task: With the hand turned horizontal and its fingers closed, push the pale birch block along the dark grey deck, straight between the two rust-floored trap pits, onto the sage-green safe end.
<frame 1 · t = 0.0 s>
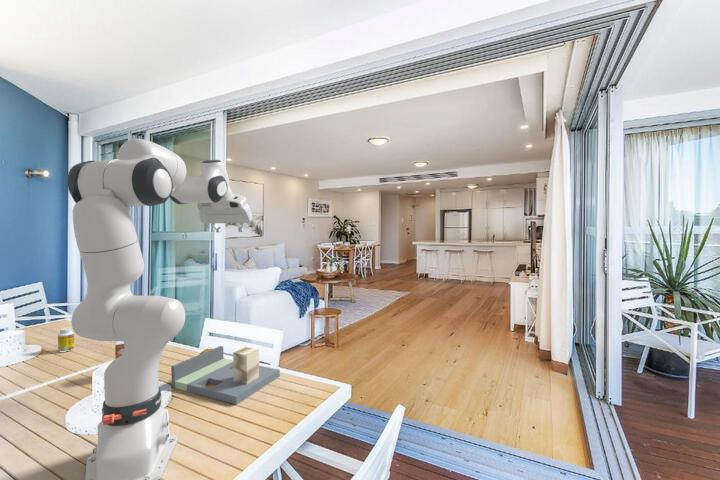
hand: (230, 231, 137), 54 cm above the table, tool tilted 30°, fingers open, 8 cm apart
birch block: (246, 378, 118), point 2 cm above the table, touching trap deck
small box: (129, 374, 129), on the table
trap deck: (229, 382, 121), on the table
supplement bottle: (66, 351, 154), on the table
bread roll: (208, 359, 143), on the table
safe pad: (207, 376, 126), on the table
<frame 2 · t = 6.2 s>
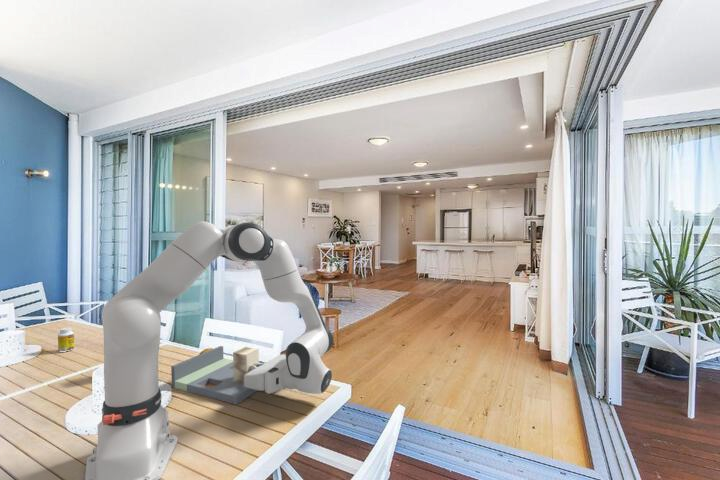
hand: (252, 366, 116), 7 cm above the table, tool horizontal, fingers closed, pressing on birch block
birch block: (246, 378, 118), point 2 cm above the table, touching gripper, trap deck
everything else where it was.
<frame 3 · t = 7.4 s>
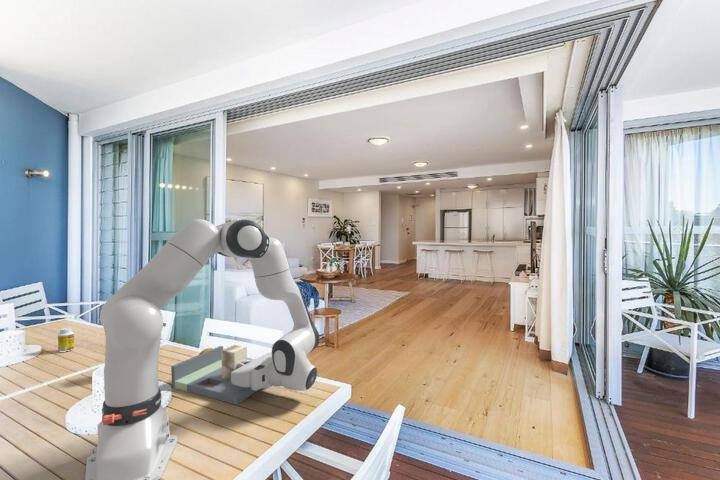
hand: (240, 364, 119), 7 cm above the table, tool horizontal, fingers closed
birch block: (234, 376, 120), point 2 cm above the table, touching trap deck
everything else where it was.
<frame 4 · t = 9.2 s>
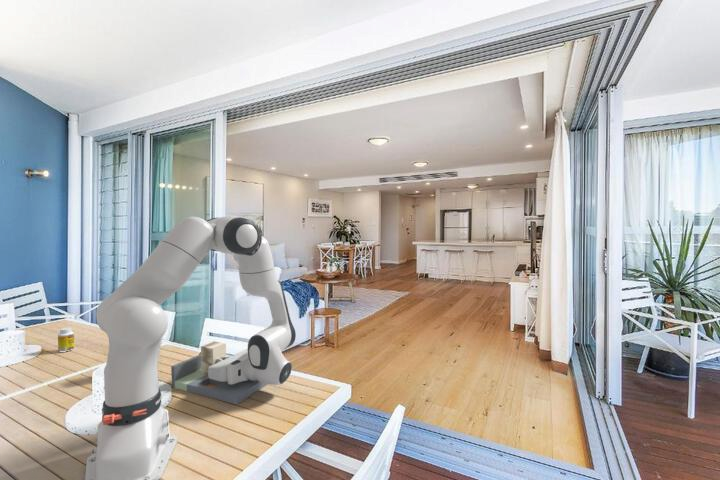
hand: (219, 359, 123), 8 cm above the table, tool horizontal, fingers closed
birch block: (214, 371, 124), point 3 cm above the table
everything else where it was.
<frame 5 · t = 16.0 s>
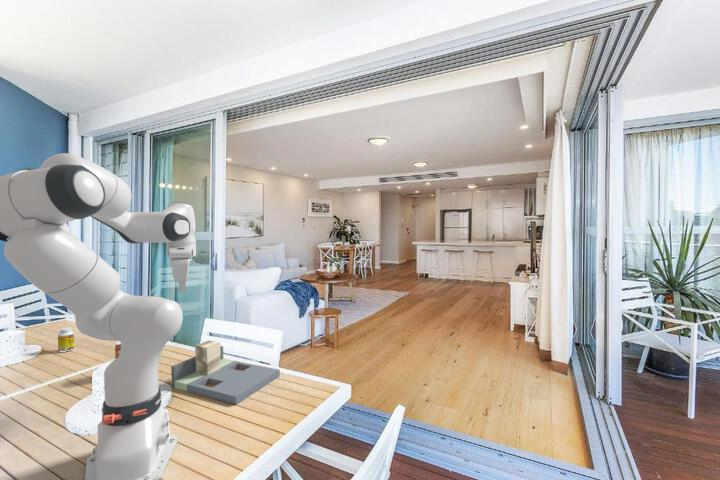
hand: (182, 291, 114), 34 cm above the table, tool pointing down, fingers closed
birch block: (208, 370, 125), point 2 cm above the table, touching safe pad, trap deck
everything else where it was.
at the end: birch block 0.6 cm from the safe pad (horizontally); birch block point 2.5 cm above the table; birch block tilted 0° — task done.
